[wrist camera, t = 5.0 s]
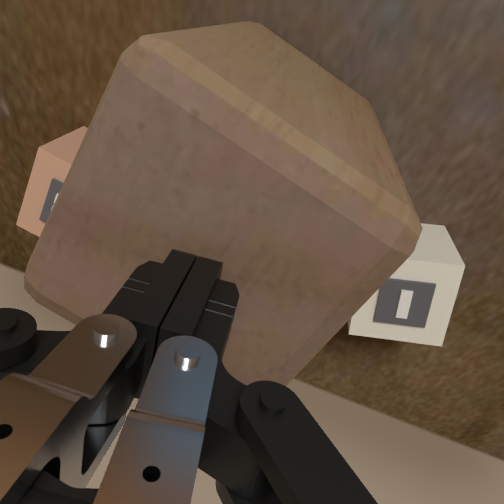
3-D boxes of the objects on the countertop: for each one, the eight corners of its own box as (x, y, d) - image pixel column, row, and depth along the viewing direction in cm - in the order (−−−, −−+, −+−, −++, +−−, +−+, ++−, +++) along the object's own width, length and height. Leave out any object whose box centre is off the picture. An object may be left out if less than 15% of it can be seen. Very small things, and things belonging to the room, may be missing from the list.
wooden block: (290, 223, 35) (249, 439, 17) (174, 146, 34) (2, 296, 16) (379, 107, 30) (445, 240, 13) (249, 13, 29) (122, 18, 11)
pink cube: (159, 166, 35) (125, 197, 29) (131, 230, 37) (95, 269, 32) (84, 125, 34) (35, 148, 28) (61, 193, 37) (13, 226, 31)
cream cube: (444, 225, 33) (466, 268, 28) (425, 297, 36) (442, 349, 31) (358, 216, 34) (363, 257, 28) (346, 287, 37) (348, 337, 31)
